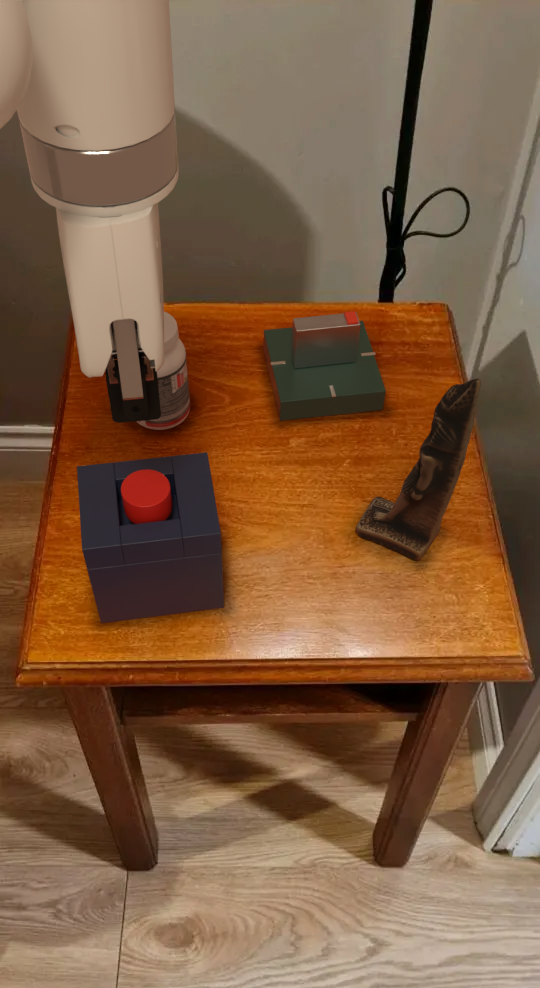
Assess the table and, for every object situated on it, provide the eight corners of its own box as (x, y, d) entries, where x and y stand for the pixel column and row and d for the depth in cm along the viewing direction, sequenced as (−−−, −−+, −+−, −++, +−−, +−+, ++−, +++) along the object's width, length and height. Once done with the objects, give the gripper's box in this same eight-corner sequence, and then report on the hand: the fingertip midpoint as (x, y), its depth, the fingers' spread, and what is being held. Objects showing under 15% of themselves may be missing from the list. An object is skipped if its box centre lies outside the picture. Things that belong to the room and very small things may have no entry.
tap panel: (279, 422, 86) (279, 401, 83) (262, 349, 91) (262, 327, 89) (384, 410, 87) (387, 390, 84) (361, 339, 92) (363, 318, 90)
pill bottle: (201, 400, 87) (195, 316, 79) (172, 440, 84) (164, 357, 76) (148, 382, 88) (138, 297, 80) (119, 420, 85) (104, 336, 77)
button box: (101, 623, 73) (81, 549, 65) (95, 544, 77) (76, 465, 69) (224, 607, 74) (221, 533, 66) (211, 530, 78) (207, 451, 70)
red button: (126, 529, 67) (122, 509, 65) (122, 492, 69) (119, 471, 67) (174, 523, 67) (172, 503, 66) (169, 486, 69) (167, 466, 67)
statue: (372, 504, 80) (405, 323, 64) (447, 535, 79) (500, 357, 62) (352, 537, 78) (380, 359, 62) (428, 570, 77) (478, 395, 60)
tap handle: (294, 368, 86) (296, 328, 82) (290, 356, 87) (292, 315, 83) (356, 362, 87) (361, 322, 83) (351, 349, 88) (356, 309, 84)
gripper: (23, 73, 49) (75, 342, 64) (27, 243, 41) (85, 504, 56) (163, 66, 50) (180, 333, 65) (193, 231, 42) (205, 492, 57)
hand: (136, 412), depth 61 cm, fingers closed
